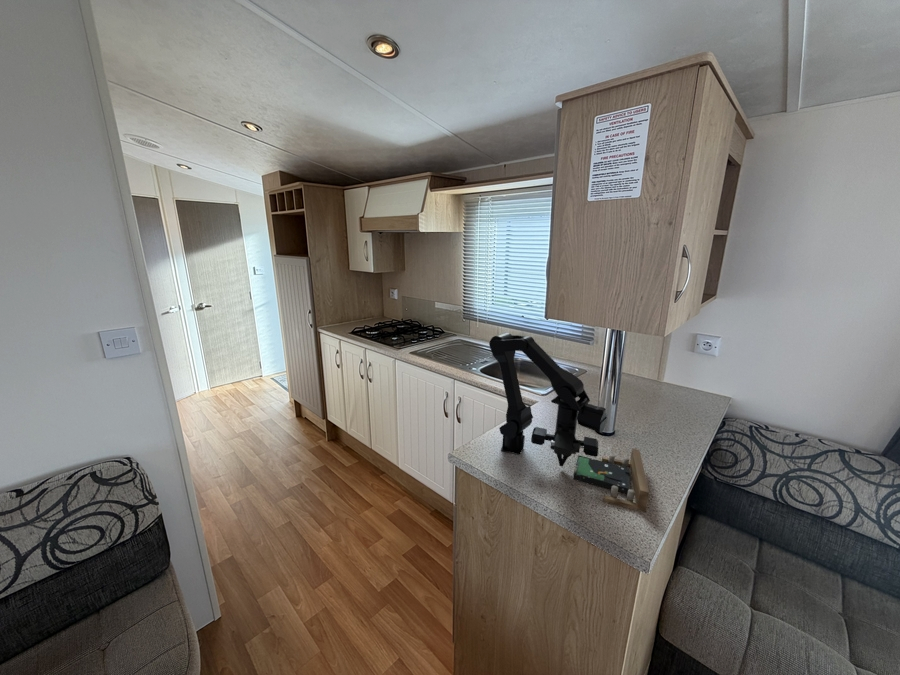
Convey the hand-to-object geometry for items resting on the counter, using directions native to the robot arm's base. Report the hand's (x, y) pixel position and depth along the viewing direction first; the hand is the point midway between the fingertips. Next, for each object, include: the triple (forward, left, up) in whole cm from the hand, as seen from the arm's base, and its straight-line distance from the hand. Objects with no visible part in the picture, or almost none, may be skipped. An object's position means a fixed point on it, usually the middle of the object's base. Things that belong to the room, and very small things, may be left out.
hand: (561, 465), depth 107 cm
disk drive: (+11, +1, -2) cm, 12 cm away
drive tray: (+17, 0, -1) cm, 17 cm away
